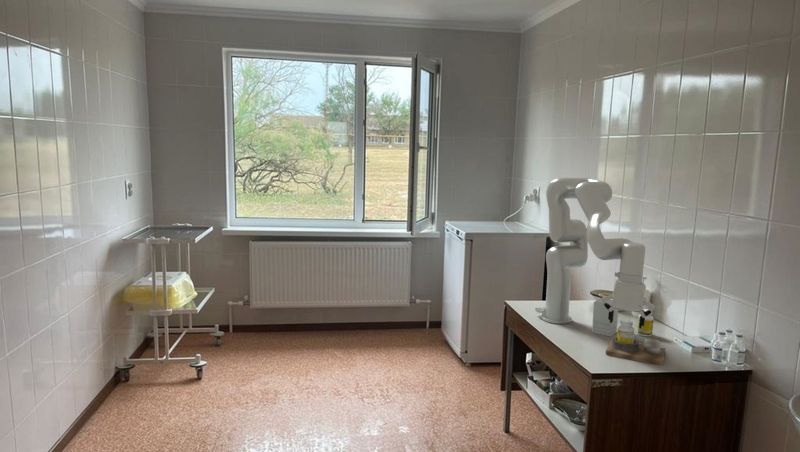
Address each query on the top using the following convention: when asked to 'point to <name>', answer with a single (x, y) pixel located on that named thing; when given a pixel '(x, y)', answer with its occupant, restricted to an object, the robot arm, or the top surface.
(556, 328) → the top surface
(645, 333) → the supplement bottle
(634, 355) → the carrier plate
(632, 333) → the supplement bottle
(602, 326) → the supplement box
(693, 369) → the top surface
